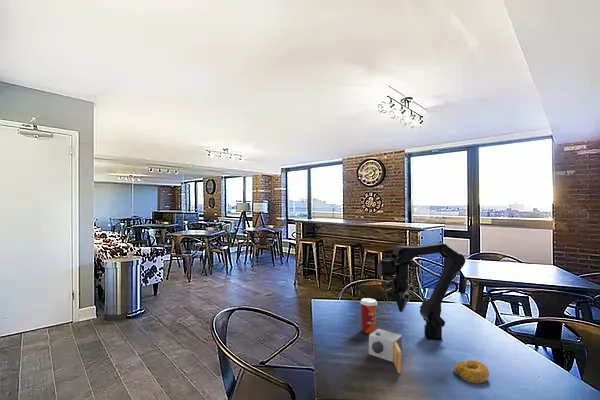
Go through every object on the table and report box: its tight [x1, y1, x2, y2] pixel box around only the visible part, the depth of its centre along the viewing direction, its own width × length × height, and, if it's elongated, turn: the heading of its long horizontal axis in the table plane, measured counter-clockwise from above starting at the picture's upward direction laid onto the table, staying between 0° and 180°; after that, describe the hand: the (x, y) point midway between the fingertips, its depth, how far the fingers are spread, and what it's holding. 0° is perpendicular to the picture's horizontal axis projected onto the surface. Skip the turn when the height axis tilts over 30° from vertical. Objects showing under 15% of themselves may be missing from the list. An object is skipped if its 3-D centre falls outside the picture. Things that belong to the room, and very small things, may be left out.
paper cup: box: [359, 297, 378, 334], centre depth 154 cm, size 8×8×14 cm
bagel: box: [453, 359, 490, 384], centre depth 115 cm, size 10×11×5 cm
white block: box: [368, 328, 403, 363], centre depth 130 cm, size 9×10×8 cm
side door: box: [393, 341, 402, 374], centre depth 120 cm, size 8×1×8 cm, turn 175°
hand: (401, 311), depth 145 cm, fingers closed
